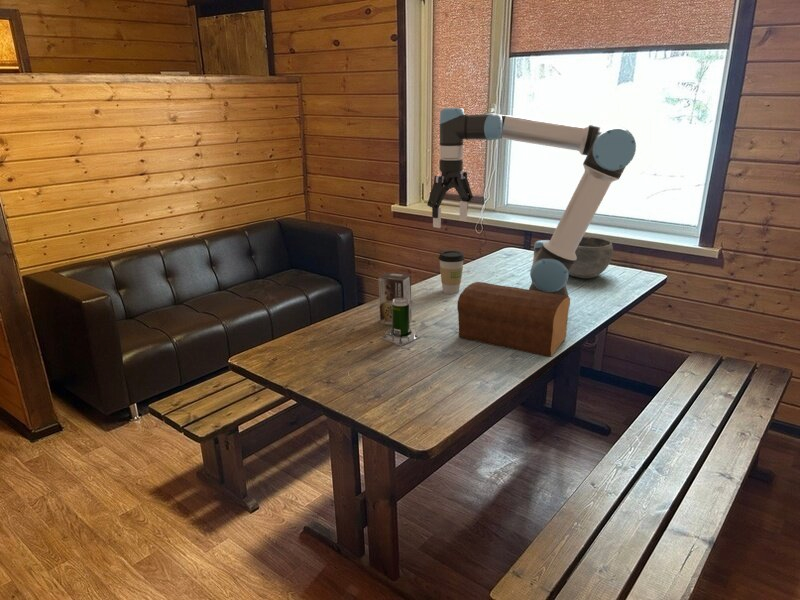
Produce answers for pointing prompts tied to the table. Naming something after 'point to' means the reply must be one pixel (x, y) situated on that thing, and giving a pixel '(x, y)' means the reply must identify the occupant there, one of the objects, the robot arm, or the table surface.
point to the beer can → (400, 317)
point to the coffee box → (393, 294)
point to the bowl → (591, 257)
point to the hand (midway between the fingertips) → (450, 224)
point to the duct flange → (400, 340)
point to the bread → (513, 317)
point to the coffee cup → (451, 270)
